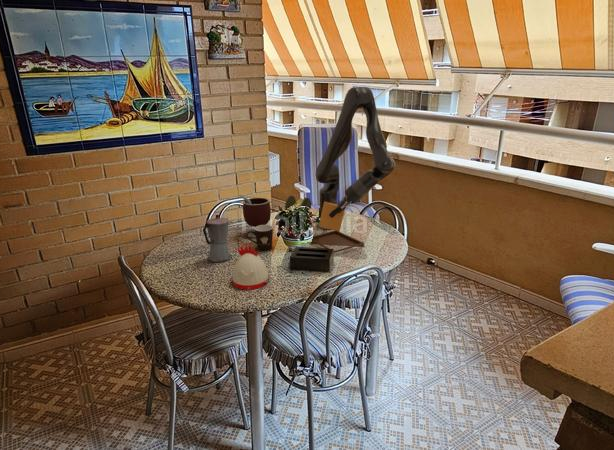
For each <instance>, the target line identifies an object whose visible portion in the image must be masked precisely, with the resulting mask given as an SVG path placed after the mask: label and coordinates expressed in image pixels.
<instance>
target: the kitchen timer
mask: <svg viewBox="0 0 614 450" xmlns="http://www.w3.org/2000/svg"><path fill="white" fill-rule="evenodd" d="M255 251H256V247H253V249H252V244H249V247H248V245H247V244H246V245H245V247H243V245H242V244H241V245H240V248H239V247H238V248H237V252H238V254H239V255H240V256H239V258H238V259H237V260H236V261H235V262H234V267H233V270H232V271H233V272H232V277H231V278H232V285H233V286H234V287H236V288H237V289H241V290H255V289H260V288H262V287H264V286H266V285H267V284H268V282H267V281H268V279H269V276H270V275H269V272H268V269H267V266H266V264H265V262H264V260H263V259H262V257H260V256H259V255H258V254H259V252H260V250H257V252H255Z"/></svg>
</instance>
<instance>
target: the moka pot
mask: <svg viewBox="0 0 614 450" xmlns="http://www.w3.org/2000/svg"><path fill="white" fill-rule="evenodd" d="M229 223H230V221H229V218H228V217H220V215H219V214H215V217H213V218H208V220H206V221H205V224H204V227H203V229H202V233H203V235H204V238H205V241H206V244H207V245H209V255H208V257H209V258H208V259H209V261H211V262H215V263H220V262H226V261H228V260H229V259H230V254H229V253H230V252H229V246H228V236H229V225H230V224H229ZM213 260H214V261H213Z"/></svg>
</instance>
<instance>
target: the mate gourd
mask: <svg viewBox="0 0 614 450" xmlns="http://www.w3.org/2000/svg"><path fill="white" fill-rule="evenodd" d="M239 197H241V198H242V199H243V204H242V216H243V219H244V222H245V223H246V224H247V225H248V226H250V227H254V228H255V227H256V226H259V225H268V223H269V222H270V220H271V215H272V210H271V209H272V208H271V202H270V199H268V198H265V197H251V198H248V197H247V196H245V195H242V194H239ZM254 228H251V229H248V230H247V231H246V232H245V235H247V233H248V232H249V231H253V232H255V230H254ZM247 236H248V237H249V238H255V239H256V236H255V235H254V234H253V233H248V235H247ZM247 236H246V237H247Z"/></svg>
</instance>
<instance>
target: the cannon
mask: <svg viewBox="0 0 614 450" xmlns="http://www.w3.org/2000/svg"><path fill="white" fill-rule="evenodd" d="M292 205H294V206H307V207H309V208H311V209H312V201H311V198H309V197H304V198H302V197H300V198H299V199H298V200H296V198H295V196H294V195H289V196H287V198H286V200H285V205H284V210H285V209H287V208H289V207H290V206H292Z"/></svg>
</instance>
